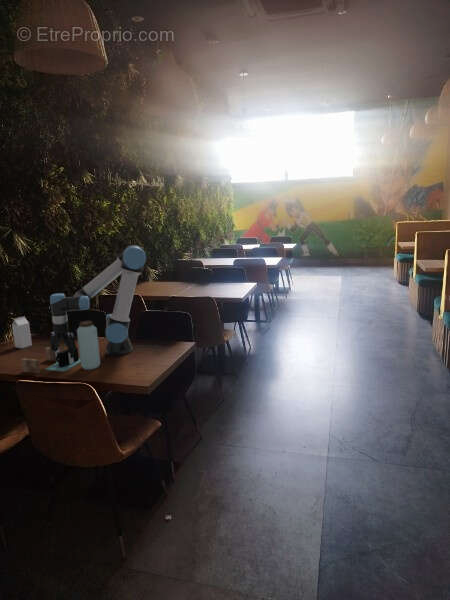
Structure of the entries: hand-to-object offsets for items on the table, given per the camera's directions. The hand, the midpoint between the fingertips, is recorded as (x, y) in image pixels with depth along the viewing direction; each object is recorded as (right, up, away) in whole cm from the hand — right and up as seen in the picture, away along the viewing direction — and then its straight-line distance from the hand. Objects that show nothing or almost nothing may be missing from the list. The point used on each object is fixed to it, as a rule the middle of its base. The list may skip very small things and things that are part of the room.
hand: (65, 362), depth 227 cm
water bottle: (+16, -2, -4) cm, 16 cm away
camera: (+1, -1, +1) cm, 2 cm away
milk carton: (-40, +5, +36) cm, 54 cm away
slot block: (-12, -2, 0) cm, 12 cm away
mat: (0, -1, 0) cm, 1 cm away
